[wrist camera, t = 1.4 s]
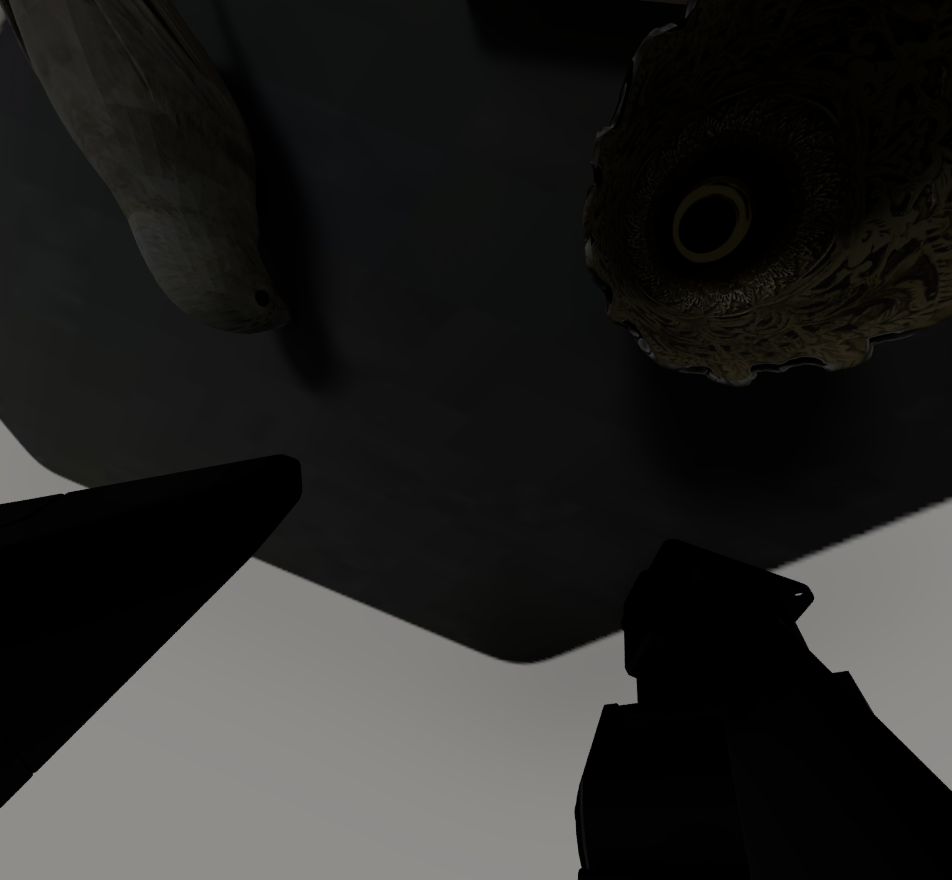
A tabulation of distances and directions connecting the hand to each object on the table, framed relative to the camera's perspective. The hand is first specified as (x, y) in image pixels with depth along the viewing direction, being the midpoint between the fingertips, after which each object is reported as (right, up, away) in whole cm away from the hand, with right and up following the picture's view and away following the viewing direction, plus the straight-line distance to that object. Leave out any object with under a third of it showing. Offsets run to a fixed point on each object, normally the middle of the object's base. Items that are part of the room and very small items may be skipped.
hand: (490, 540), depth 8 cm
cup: (+8, +10, +6) cm, 14 cm away
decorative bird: (-12, +16, +11) cm, 22 cm away
